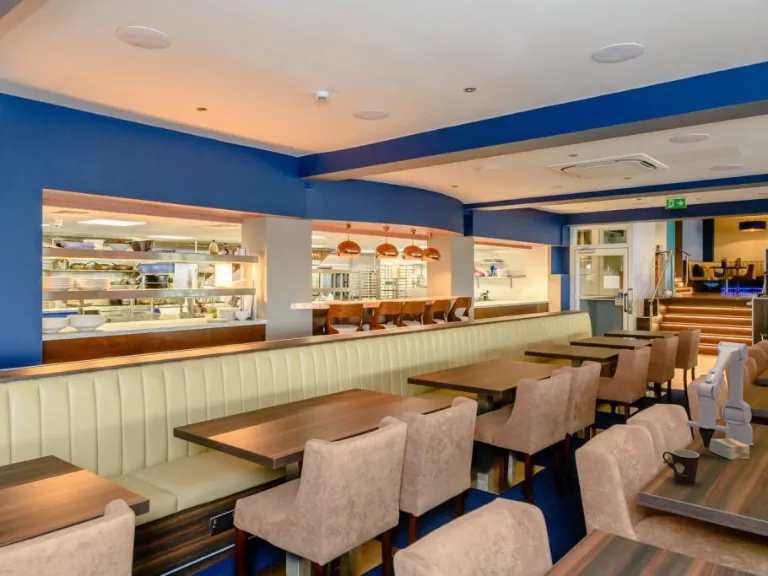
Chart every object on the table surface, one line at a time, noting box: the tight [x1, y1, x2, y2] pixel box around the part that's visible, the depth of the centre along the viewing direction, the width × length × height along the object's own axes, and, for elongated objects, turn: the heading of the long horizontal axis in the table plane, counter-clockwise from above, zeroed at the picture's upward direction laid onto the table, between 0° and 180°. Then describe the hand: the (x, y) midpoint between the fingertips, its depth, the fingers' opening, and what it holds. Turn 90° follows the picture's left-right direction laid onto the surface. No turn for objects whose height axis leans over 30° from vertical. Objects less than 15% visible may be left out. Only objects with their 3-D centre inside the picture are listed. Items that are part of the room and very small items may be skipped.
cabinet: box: [713, 437, 751, 461], centre depth 230 cm, size 8×10×5 cm
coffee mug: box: [662, 448, 700, 485], centre depth 204 cm, size 12×9×10 cm
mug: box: [662, 451, 673, 465], centre depth 218 cm, size 8×10×10 cm
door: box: [708, 438, 732, 460], centre depth 229 cm, size 2×10×5 cm, turn 13°
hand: (706, 447), depth 228 cm, fingers closed
